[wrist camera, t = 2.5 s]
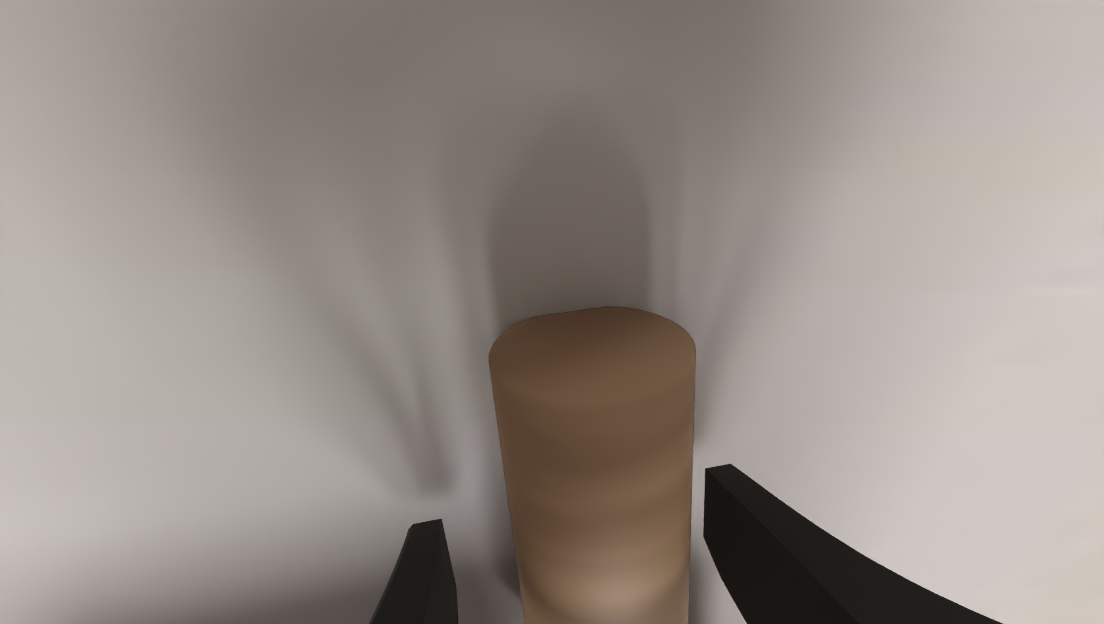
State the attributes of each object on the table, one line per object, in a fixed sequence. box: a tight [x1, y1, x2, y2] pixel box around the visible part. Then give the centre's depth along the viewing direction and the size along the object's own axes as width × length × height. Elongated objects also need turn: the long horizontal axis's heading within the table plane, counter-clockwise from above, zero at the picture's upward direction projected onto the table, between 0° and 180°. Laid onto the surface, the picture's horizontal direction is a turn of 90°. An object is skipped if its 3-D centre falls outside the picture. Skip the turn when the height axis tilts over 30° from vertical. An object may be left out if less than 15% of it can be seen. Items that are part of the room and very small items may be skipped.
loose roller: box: [489, 307, 696, 624], centre depth 12 cm, size 9×4×4 cm, turn 5°
